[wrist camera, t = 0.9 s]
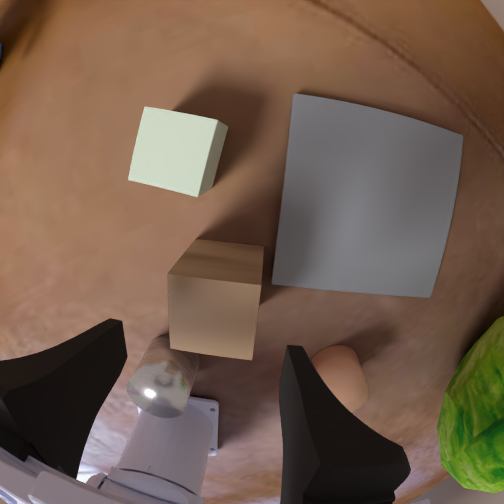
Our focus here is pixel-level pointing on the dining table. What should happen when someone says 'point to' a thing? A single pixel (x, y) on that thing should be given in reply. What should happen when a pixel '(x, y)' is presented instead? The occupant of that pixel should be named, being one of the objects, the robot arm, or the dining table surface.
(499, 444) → the lettuce
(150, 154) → the pale green block
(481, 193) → the dining table surface
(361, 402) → the peach rounded cylinder
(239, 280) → the walnut block
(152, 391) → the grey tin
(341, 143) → the slate coaster
